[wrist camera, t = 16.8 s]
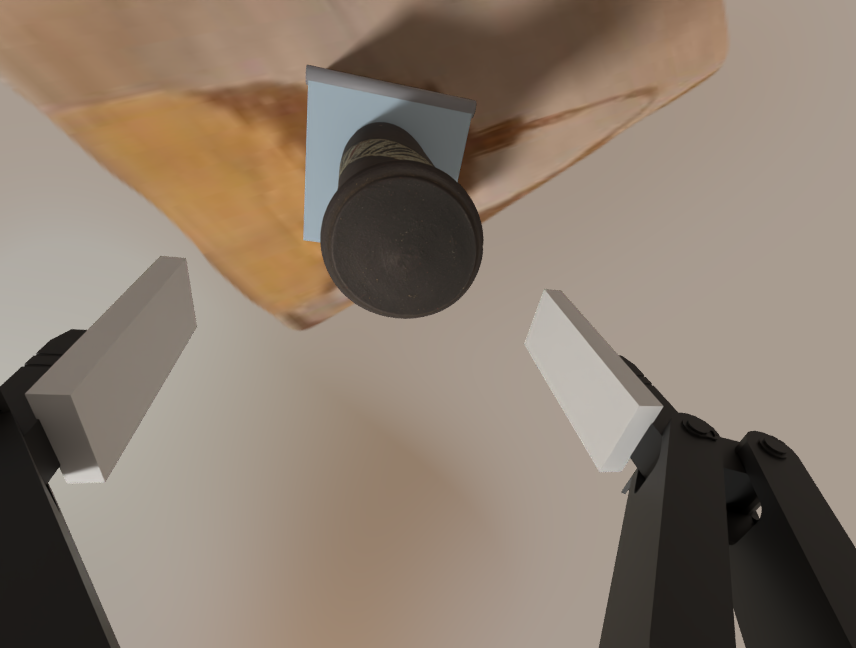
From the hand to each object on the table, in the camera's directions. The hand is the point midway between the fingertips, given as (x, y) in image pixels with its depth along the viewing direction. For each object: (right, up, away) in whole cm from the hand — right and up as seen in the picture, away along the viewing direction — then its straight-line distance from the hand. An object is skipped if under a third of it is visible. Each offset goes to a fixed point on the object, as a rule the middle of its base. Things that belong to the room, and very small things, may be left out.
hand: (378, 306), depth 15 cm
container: (-2, +13, +22) cm, 26 cm away
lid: (-2, +14, +23) cm, 27 cm away
